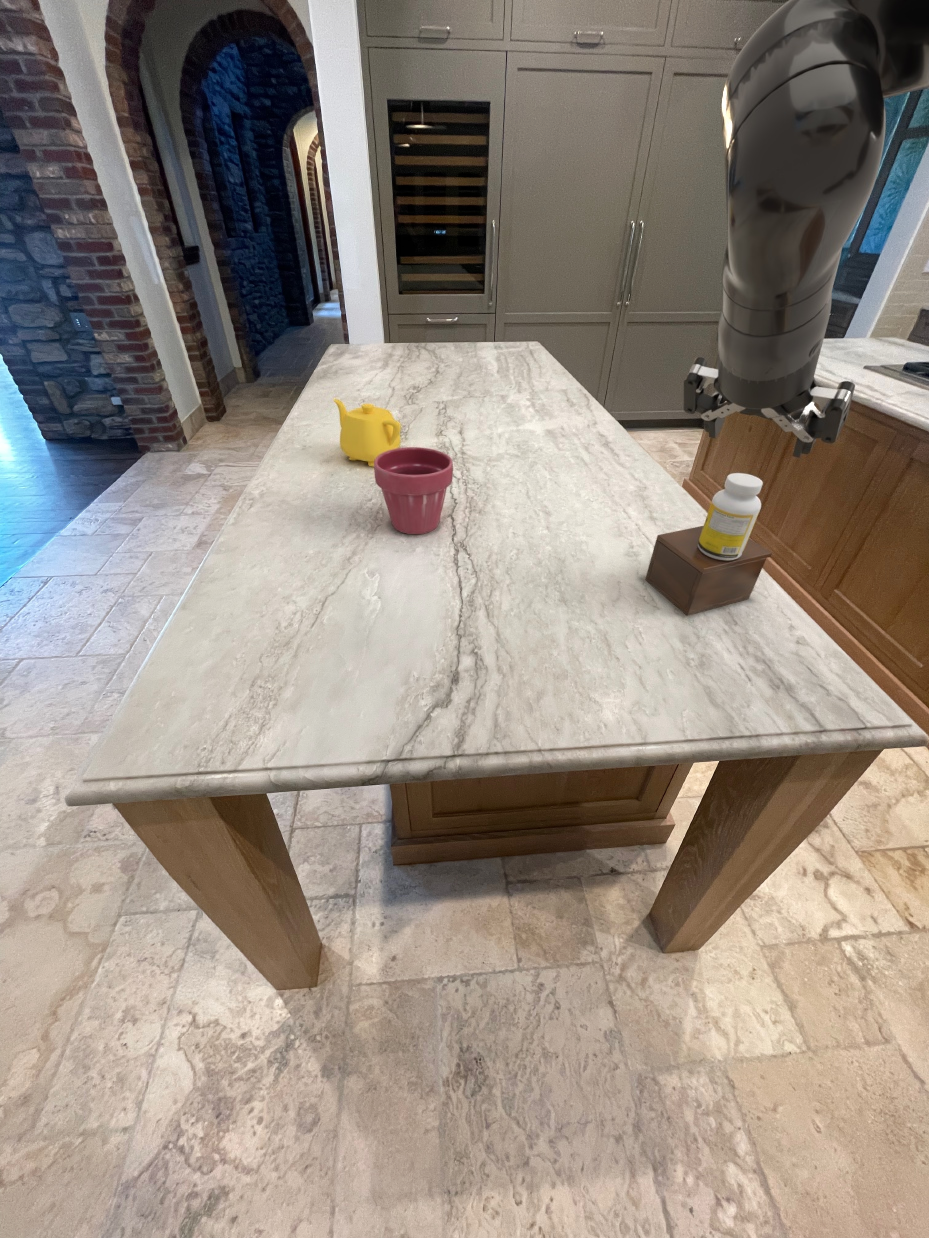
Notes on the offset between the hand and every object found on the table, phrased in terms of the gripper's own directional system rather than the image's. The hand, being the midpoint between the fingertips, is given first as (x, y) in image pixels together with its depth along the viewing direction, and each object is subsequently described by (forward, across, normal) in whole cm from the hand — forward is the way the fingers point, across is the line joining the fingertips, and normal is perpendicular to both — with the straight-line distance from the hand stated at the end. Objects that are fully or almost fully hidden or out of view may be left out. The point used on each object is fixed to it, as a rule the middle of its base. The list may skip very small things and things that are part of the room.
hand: (756, 439), depth 57 cm
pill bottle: (+27, +2, +4) cm, 27 cm away
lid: (+29, +3, +4) cm, 29 cm away
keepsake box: (+34, +4, +9) cm, 35 cm away
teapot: (+38, +86, +6) cm, 94 cm away
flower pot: (+25, +54, +19) cm, 63 cm away
